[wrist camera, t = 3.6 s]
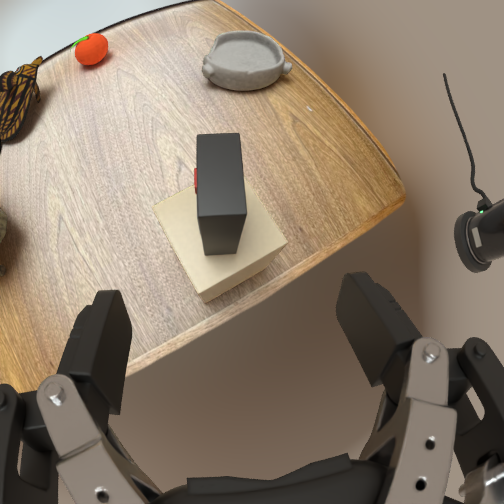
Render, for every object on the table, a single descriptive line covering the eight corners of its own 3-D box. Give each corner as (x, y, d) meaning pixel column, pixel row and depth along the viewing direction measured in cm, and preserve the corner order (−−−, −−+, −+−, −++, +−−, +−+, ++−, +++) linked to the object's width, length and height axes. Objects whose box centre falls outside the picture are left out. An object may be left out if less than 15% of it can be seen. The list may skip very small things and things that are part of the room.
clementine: (73, 78, 37) (62, 53, 30) (78, 60, 38) (69, 36, 31) (110, 64, 38) (102, 37, 31) (112, 48, 40) (106, 22, 33)
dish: (202, 96, 38) (202, 73, 33) (201, 50, 41) (201, 30, 36) (292, 95, 40) (300, 74, 35) (277, 50, 43) (282, 31, 38)
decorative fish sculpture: (49, 127, 34) (21, 84, 23) (-13, 161, 31) (-45, 130, 20) (59, 80, 37) (40, 40, 25) (1, 111, 34) (-22, 80, 22)
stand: (230, 211, 34) (237, 163, 23) (265, 268, 32) (288, 242, 22) (171, 243, 32) (151, 206, 21) (205, 303, 31) (198, 294, 20)
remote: (231, 193, 22) (239, 132, 15) (236, 253, 21) (247, 214, 13) (199, 195, 22) (193, 134, 14) (202, 256, 21) (194, 217, 13)
